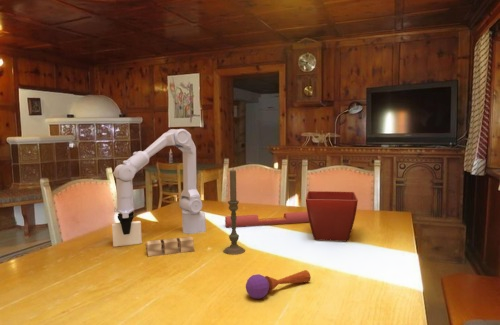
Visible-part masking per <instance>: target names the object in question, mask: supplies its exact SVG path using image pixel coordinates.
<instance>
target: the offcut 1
mask: <svg viewBox="0 0 500 325" xmlns="http://www.w3.org/2000/svg"><path fill="white" fill-rule="evenodd" d="M160 240H161V239H155V240H154V241H153V240H147V241H146V243H147V249H148V256H151V257H155V256H154V255H160V256H163V255H162V251H161V241H160Z"/></svg>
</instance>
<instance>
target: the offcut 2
mask: <svg viewBox="0 0 500 325" xmlns="http://www.w3.org/2000/svg"><path fill="white" fill-rule="evenodd" d="M178 238H179V246H180V251H181V252H185V253H189V252H188V251H194V252H195V247H194V246H195V244H194V238H193V237H192V236H183V238H181V237H178Z"/></svg>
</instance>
